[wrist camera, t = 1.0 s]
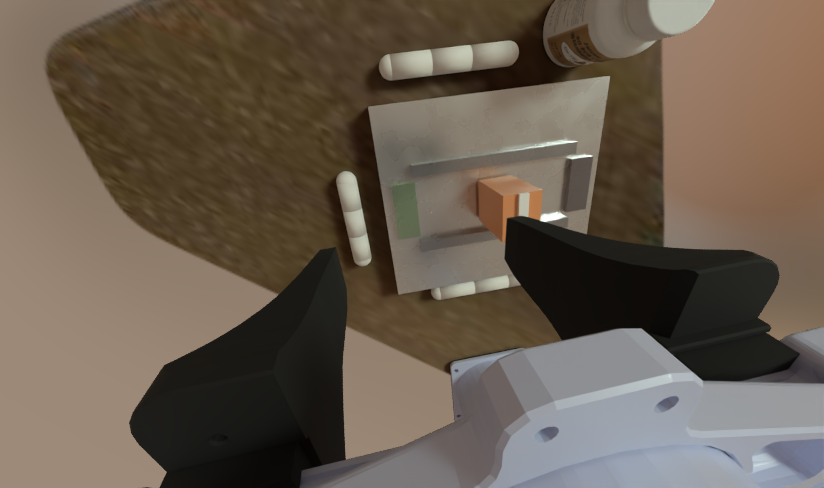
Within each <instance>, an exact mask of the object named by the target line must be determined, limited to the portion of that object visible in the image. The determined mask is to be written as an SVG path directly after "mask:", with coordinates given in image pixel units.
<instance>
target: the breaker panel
mask: <svg viewBox="0 0 824 488" xmlns="http://www.w3.org/2000/svg"><path fill="white" fill-rule="evenodd" d="M609 80H610V76H606V77H598V78H590V79H582V80H574V81H567V82H559V83H551V84H543V85H535V86H527V87H519V88H512V89H504V90H496V91H488V92H480V93H472V94H465V95H457V96H449V97H441V98H433V99H425V100H418V101H410V102H402V103H394V104H386V105H378V106H370V107H368V111H369V118H370V124H371V130H372V136H373V142H374V148H375V155H376V161H377V167H378V173H379V179H380V185H381V191H382V198H383V204H384V210H385V216H386V222H387V228H388V234H389V241H390V247H391V253H392V259H393V265H394V271H395V278H396V284H397V289H398V295H399V294H404V293H410V292H416V291H421V290H427V289H432V288H438V287H443V286H449V285H454V284H460V283H466V282H471V281H477V280H482V279H488V278H493V277H499V276H504V275H510V274H513V273H512V272H511V270H510V268H509V267H508V265H507V263H506V261H505V259H504V256H505V243H502V242H501V241H500V240H499V239H498V238H497V237H496V236H495V235H494V234H493V233H492V232H491V231H490V230H489V229H488V228H487V227H486V226H485V225H484V224H483V223H482V222H481V221H480V220H479V194H478V180H482V179H489V178H495V177H502V176H509V175H512V176H514V177H516V178H518V179H520V180H522V181H525V182H527V183H529V184H531V185H533V186H535V187H537V188H540V189H542V190H543V192H542V206H541V219H540V221H543V222H547V223H550V224H553V225H556V226H560V227H563V228H566V229H569V230H573V231H576V232H580V233H584V234H587V228H588V221H589V214H590V207H591V201H592V194H593V187H594V181H595V174H596V167H597V161H598V154H599V147H600V141H601V134H602V127H603V120H604V114H605V107H606V100H607V94H608V87H609Z"/></svg>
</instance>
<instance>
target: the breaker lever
mask: <svg viewBox="0 0 824 488" xmlns="http://www.w3.org/2000/svg"><path fill="white" fill-rule="evenodd" d="M542 192H543V190H542V189H540V188H537V187H535V186H533V185H531V184H529V183H527V182H525V181H522V180H520V179H518V178H516V177H514V176H512V175H509V176H502V177H495V178H489V179H482V180H478V194H479V220H480V221H481V222H482V223H483V224H484V225H485V226H486V227H487V228H488V229H489V230H490V231H491V232H492V233H493V234H494V235H495V236H496V237H497V238H498V239H499V240H500V241H501V242H502V243H505V239H506V223H507V218H510V217H516V216H525V217H529V218H533V219H537V220H540V219H541V206H542Z"/></svg>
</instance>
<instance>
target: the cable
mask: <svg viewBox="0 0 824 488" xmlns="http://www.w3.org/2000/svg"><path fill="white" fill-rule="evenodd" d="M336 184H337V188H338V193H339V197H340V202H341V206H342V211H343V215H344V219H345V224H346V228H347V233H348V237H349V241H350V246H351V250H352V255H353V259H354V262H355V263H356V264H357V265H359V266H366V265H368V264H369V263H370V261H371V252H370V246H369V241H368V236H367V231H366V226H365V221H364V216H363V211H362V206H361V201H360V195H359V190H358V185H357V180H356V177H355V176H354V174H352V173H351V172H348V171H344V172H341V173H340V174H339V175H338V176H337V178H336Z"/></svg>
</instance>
